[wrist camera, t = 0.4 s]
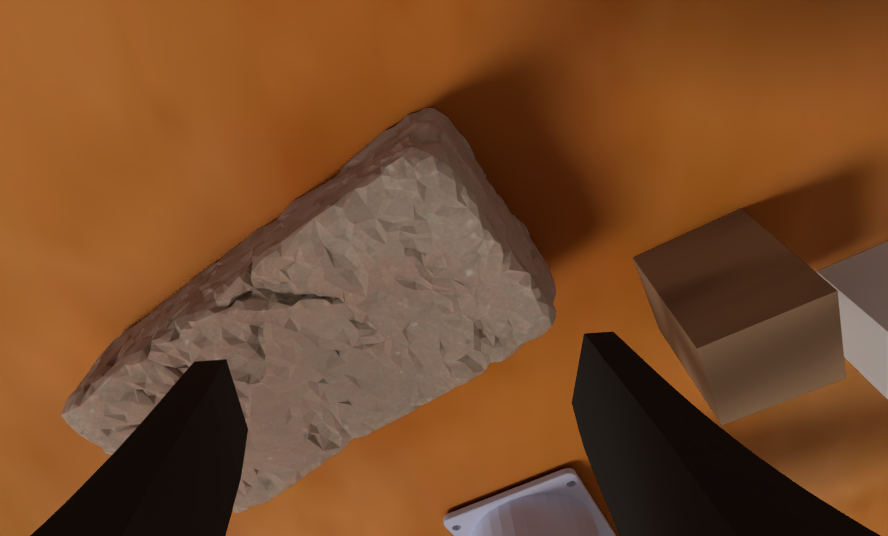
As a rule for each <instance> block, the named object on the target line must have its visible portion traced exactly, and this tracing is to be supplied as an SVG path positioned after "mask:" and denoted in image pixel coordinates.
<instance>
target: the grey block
mask: <svg viewBox="0 0 888 536" xmlns="http://www.w3.org/2000/svg"><path fill="white" fill-rule="evenodd" d="M817 274H819V275H820V276H821V277H822V278H823V279H824V280H826V281H827V282H828V283H829V284H830V285H832V286H833V287H834V288H835V289H836V290H837V291H838V300H839V310H840V321H841V331H842V341H843V351H844V357H845V358H846V359H847V360H848V361H849V362H850V363H851V364H852V365H853V366H854V367H855V368H856V369H857V370H858V371H859V372H860V373H861V374H862V375H863V376H864V377H865V378H866V379H867V380H868V381H869V382H870V383H871V384H872V385H873V386H874V387H875V388H876V389H877V390H878V391H879V392H881V393H882V394H883V395H884V396H885V397H886V398H887V399H888V241H887V242H885V243H883V244H880V245H878V246H876V247H873V248H871V249H868V250H866V251H864V252H861V253H859V254H857V255H854V256H852V257H849V258H847V259H845V260H842V261H840V262H838V263H835V264H833V265H830V266H828V267H826V268H823V269H821V270H819V271H817Z"/></svg>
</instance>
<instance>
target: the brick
mask: <svg viewBox="0 0 888 536" xmlns="http://www.w3.org/2000/svg"><path fill="white" fill-rule="evenodd" d="M529 235H530V234H529V232H528V230H527V228H526V227H525V225H524V224H523V222H521V221H520V220H518V219H517V218H516V217H515V215H513V214H511V213H510V211H509V209H508V207H507V206H506V204H505V203H504V201H503V199H502V198H501V196H499V195H497V194H496V192H495V189H494V187H493V186H492V185H490V183H489V182H488V180H487V179H486V174H484V171H483V169H482V168H481V166H480V165H479V164H478V163H477V161H476V160H475V156H474V153H473V151H472V149H471V147H470V145H469V143H468V142H467V140H466V139H465V138H464V136H463V135H462V134H461V133H460V132H459V131H457V129H456V128H455V126H454V125H453V124H452V122H451V121H450V120H449V118H448V117H447V116H446V115H444V114H442V113H441V112H439V111H438V110H436V109H435V108H424V109H422V110H421V111H419V112H417V113H411V114H408V115H407V116H406V117H405V118H404V119H403V120H402V121H401V122H399V123H398V124H397V125H396V126H394V127H393V128H390V129H388V130H385V131H384V132H382V133H381V134H380V135H378V136H377V137H376V138H375V139H374V140H373V141H372V142H370V143H369V144H368V145H367V146H366V147H364V148H363V149H362V150H361V151H360V152H358V153H357V154H356V155H355V156H354V157H353V158H352V159H351V160H349V161H348V162H347V163H346V164H345V165H344V167H343V168H342V169H341V170H340V172H339V173H338V175H337V176H335V177H334V178H332V179H330V180H329V181H327V182H326V183H324V184H323V185H321V186H319V187H317V188H315V189H313V190H311V191H310V192H308V193H306V194H304V195H303V196H301V197H299V198H298V199H296V200H294V201H293V202H292V203H291V204H290V205H289V206H288V207H287V208H286V209H285V211H284V212H283V213H282V214H281V215H280V216H279V217H278V218H277V219H276V220H275V221H273V222H271V223H270V224H268V225H266V226H264V227H262V228H259V229H257V230H255V231H254V232H253V233H252V234H251V235H250V236H249V237H248V238H246V239H245V240H244V241H243V242H242V243H240V244H239V245H237V246H236V247H235V248H233V249H232V250H230V251H229V252H227V253H226V254H225V255H224V256H223V257H222V258H221V259H220V260H219V261H218V262H217V263H213V264H212V265H210V266H209V267H208V268H207V269H205V270H204V271H203V272H201V273H200V274H199V275H197V276H196V277H194V278H193V279H191V280H190V282H189V283H188V284H187V285H185V286H183V287H182V288H180V289H179V290H178V291H177V292H176V293H175V294H174V295H172V296H171V297H170V298H168V299H167V300H165V301H164V302H163V303H161V304H160V305H159V306H158V307H157V308H156V309H155V310H153V311H152V312H151V313H150V314H149V315H148V316H146V317H145V318H144V319H142V320H141V321H140V322H139V323H137V324H136V325H134V326H133V327H131V328H129V329H127V330H125V331H124V333H123V334H122V335H121V336H120V337H118V338H116V339H115V340H114V341H113V342H112V343H111V344H110V345H109V346H108V347H107V348H106V350H105V351H104V352H103V353H102V354H101V355H100V357H99V358H98V359H97V361H96V362H95V363H94V365H93V366H92V367H91V369H90V371H89V373H88V374H87V375H86V376H85V378H84V379H83V380H82V382H81V383H80V384H79V385H78V387H77V389H76V390H75V391H74V392H73V393H72V394H71V395H70V396H69V398H68V399H67V401H66V403H65V406H64V408H63V411H62V413H61V415H62V417H63V418H64V420H65V421H66V422H67V424H68V425H69V426H70V427H71V428H72V429H74V430H75V431H76V432H77V433H78V434H79V435H81V436H82V437H84V438H86V439H87V440H89V441H90V442H92V443H94V444H96V445H98V446H100V447H102V448H103V450H104V452H105V453H107V454H110V455H112V454H113V453H114V452H115V451H116V450H117V449H118V448H119V447H120V446H121V445H122V443H123V442H124V441H125V440H126V439H127V438H128V437H129V436H130V435H131V433H132V432H133V431H134V430H135V429H136V428H137V427H138V426H139V425H140V423H141V422H142V421H143V420H144V419H145V418H146V417H147V415H148V414H149V413H150V412H151V411H152V410H153V409H154V407H155V406H156V405H157V404H158V403H159V402H160V400H161V399H162V398H163V397H164V396H165V395H166V393H167V392H168V391H169V390H170V389H171V388H172V386H173V385H174V384H175V383H176V382H177V381H178V379H179V378H180V377H181V376H182V375H183V374H184V373H185V371H186V370H187V369H188V368H189V367H190V366H191V365H192V364H193V363H194V362H195V361H209V360H223V359H226V360H227V363H228V366H229V369H230V373H231V376H232V379H233V382H234V385H235V389H236V392H237V395H238V398H239V401H240V405H241V408H242V411H243V414H244V417H245V421H246V424H247V427H248V433H247V441H246V448H245V456H244V462H243V468H242V474H241V480H240V483H239V487H238V491H237V495H236V498H235V502H234V506H233V509H232V510H233V511H234V512H236V513H240V512H243V511H245V510H247V509H249V508H250V507H252V506H253V505H260V504H264V503H266V502H267V501H269V500H271V499H272V498H274V497H275V496H277V495H278V494H280V493H281V492H283V491H284V490H286V489H287V488H289V487H291V486H292V485H294V484H295V483H297V482H298V481H299V480H301V479H302V478H303V477H305V476H306V475H307V474H308V473H310V472H311V471H312V470H314V469H315V468H317V467H319V466H320V465H321V464H322V463H323V462H324V461H325V460H326V459H328V458H330V457H332V456H335V455H336V454H338V453H339V452H340V451H341V450H343V449H344V448H345V447H346V446H347V444H348V443H349V442H350V441H351V440H352V439H353V438H358V437H363V436H367V435H368V434H370V433H371V432H373V431H375V430H377V429H379V428H381V427H383V426H385V425H387V424H389V423H391V422H393V421H395V420H397V419H399V418H401V417H403V416H404V415H406V414H408V413H410V412H412V411H414V410H415V409H417V408H418V407H419V406H421V405H424V404H426V403H429V402H430V401H432V400H434V399H436V398H438V397H439V396H441V395H443V394H445V393H447V392H448V391H450V390H451V389H453V388H455V387H456V386H459V385H463V384H465V383H467V382H468V381H470V380H472V379H473V378H475V377H477V376H478V375H480V374H481V373H483V372H484V371H485V370H486V369H487V367H488V366H489V364H490V363H491V362H502V361H503V360H505V359H506V358H508V357H509V356H511V355H512V354H513V353H515V352H516V351H517V350H518V349H519V348H520V347H521V346H522V345H523V344H524V343H525V342H527V341H529V340H532V339H535V338H538V337H541V336H542V335H543V334H544V333H545V332H546V331H547V330H548V329H549V328H550V327H551V326H552V325H553V323H554V320H555V316H556V310H555V308H554V305H553V301H554V298H555V294H556V289H555V284H554V279H553V277H552V274H551V272H550V269H549V267H548V265H547V263H546V262H545V260H544V259H543V257H542V255H541V254H540V252H539V251H538V249H537V247H536V246H535V244H534V243H533V241H532V240H531V238H530V237H529Z"/></svg>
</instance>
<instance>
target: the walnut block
mask: <svg viewBox="0 0 888 536" xmlns="http://www.w3.org/2000/svg"><path fill="white" fill-rule="evenodd" d="M633 260H634V263H635V266H636V268H637V271H638V274H639V276H640V279H641V282H642V284H643V287H644V290H645V292H646V295H647V298H648V300H649V303H650V306H651V308H652V311H653V314H654V316H655V319H656V322H657V324H658V327H659V330H660V331H661V333H662V334H663V336H664V337H665V339H666V340H667V342H668V343H669V345H670V347H671V348H672V350H673V351H674V353H675V354H676V356H677V357H678V359H679V360H680V362H681V363H682V365H683V366H684V368H685V370H686V371H687V373H688V374H689V376H690V377H691V379H692V380H693V382H694V383H695V385H696V386H697V388H698V390H699V391H700V393H701V394H702V396H703V397H704V399H705V400H706V402H707V403H708V405H709V406H710V408H711V410H712V411H713V413H714V414H715V416H716V417H717V419H718V420H719V422H720V423H721V425H725V424H727V423H730V422H732V421H735V420H738V419H740V418H743V417H745V416H748V415H751V414H753V413H756V412H759V411H761V410H764V409H766V408H769V407H772V406H774V405H777V404H779V403H782V402H785V401H787V400H790V399H793V398H795V397H798V396H800V395H803V394H806V393H808V392H811V391H813V390H816V389H819V388H821V387H824V386H827V385H829V384H832V383H834V382H837V381H840V380H842V379H845V378H846V372H845V362H844V351H843V341H842V331H841V321H840V310H839V300H838V291H837V290H836V289H835V288H834V287H833V286H832V285H830V284H829V283H828V282H827V281H826V280H824V279H823V278H822V277H821V276H820V275H819V274H817V273H816V272H815V271H814V270H813V269H812V268H810V267H809V266H808V265H807V264H806V263H805V262H803V261H802V260H801V259H800V258H799V257H798V256H796V255H795V254H794V253H793V252H792V251H791V250H789V249H788V248H787V247H786V246H785V245H784V244H782V243H781V242H780V241H779V240H778V239H777V238H775V237H774V236H773V235H772V234H771V233H770V232H768V231H767V230H766V229H765V228H764V227H763V226H761V225H760V224H759V223H758V222H757V221H756V220H754V219H753V218H752V217H751V216H750V215H749V214H747V213H746V212H745V211H744V210H743V209H742V208H741V209H739V210H736V211H734V212H732V213H730V214H728V215H725V216H723V217H721V218H719V219H717V220H714V221H712V222H710V223H708V224H706V225H703V226H701V227H699V228H697V229H695V230H692V231H690V232H688V233H686V234H684V235H681V236H679V237H677V238H675V239H673V240H670V241H668V242H666V243H664V244H662V245H659V246H657V247H655V248H653V249H651V250H648V251H646V252H644V253H642V254H639V255H637V256H635V257H633Z"/></svg>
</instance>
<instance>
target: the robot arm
mask: <svg viewBox="0 0 888 536" xmlns="http://www.w3.org/2000/svg"><path fill="white" fill-rule="evenodd" d="M572 405H573V409H574V413H575V417H576V420H577V424H578V428H579V432H580V435H581V439H582V442H583V446H584V449H585V451H586V454H587V456H588V459H589V462H590V464H591V466H592V469H593V471H594V474H595V476H596V479H597V481H598V484H599V486H600V489H601V491H602V493H603V496H604V498H605V501H606V503H607V506H608V508H609V510H610V513H611V515H612V518H613V520H614V523H615V525H616V527H617V530H618V532H619V535H620V536H880V535H878V534H877V533H875V532H873V531H871V530H870V529H868V528H866V527H865V526H863V525H861V524H860V523H858V522H856V521H855V520H853V519H851V518H850V517H848V516H847V515H845V514H843V513H842V512H840V511H838V510H837V509H835V508H834V507H832V506H830V505H829V504H827V503H825V502H824V501H822V500H821V499H819V498H818V497H816V496H814V495H813V494H811V493H810V492H808V491H807V490H805V489H804V488H802V487H801V486H799V485H798V484H796V483H795V482H793V481H792V480H790V479H789V478H788V477H786V476H785V475H783V474H782V473H780V472H779V471H778V470H776V469H775V468H773V467H772V466H770V465H769V464H768V463H766V462H765V461H763V460H762V459H760V458H759V457H758V456H756V455H755V454H754V453H752V452H751V451H750V450H748V449H747V448H746V447H744V446H743V445H742V444H740V443H739V442H738V441H737V440H735V439H734V438H733V437H732V436H730V435H729V434H728V433H727V432H725V431H724V430H723V429H722V428H720V427H719V426H718V425H717V424H715V423H714V422H713V421H712V420H710V419H709V418H708V417H707V416H706V415H704V414H703V413H702V412H701V411H700V410H698V409H697V408H696V407H695V406H694V405H693V404H691V403H690V402H689V401H688V400H687V399H686V398H685V397H683V396H682V395H681V394H680V393H679V392H678V391H677V390H675V389H674V388H673V387H672V386H671V385H670V384H669V383H668V382H667V381H665V380H664V379H663V378H662V377H661V376H660V375H659V374H658V373H657V372H656V371H655V370H653V369H652V368H651V367H650V366H649V365H648V364H647V363H646V362H645V361H644V360H643V359H642V358H641V357H640V356H639V355H637V354H636V353H635V352H634V351H633V350H632V349H631V348H630V347H629V346H628V345H627V344H626V343H625V342H624V341H623V340H621V339H620V338H619V337H618V336H617V335H616V334H615V333H614V332H602V333H588V334H584V338H583V343H582V349H581V354H580V360H579V366H578V371H577V377H576V382H575V388H574V394H573V399H572ZM247 433H248V427H247V424H246V421H245V417H244V414H243V411H242V408H241V405H240V401H239V398H238V395H237V392H236V389H235V385H234V382H233V379H232V376H231V373H230V369H229V366H228V363H227V360H226V359H223V360H209V361H195V362H194V363H193V364H192V365H191V366H190V367H189V368H188V369H187V370H186V371H185V373H184V374H183V375H182V376H181V377H180V378H179V379H178V381H177V382H176V383H175V384H174V385H173V386H172V388H171V389H170V390H169V391H168V392H167V393H166V395H165V396H164V397H163V398H162V399H161V400H160V402H159V403H158V404H157V405H156V406H155V407H154V409H153V410H152V411H151V412H150V413H149V414H148V415H147V417H146V418H145V419H144V420H143V421H142V422H141V423H140V425H139V426H138V427H137V428H136V429H135V430H134V431H133V432H132V433H131V435H130V436H129V437H128V438H127V439H126V440H125V441H124V442H123V443H122V445H121V446H120V447H119V448H118V449H117V450H116V451H115V452H114V453H113V454H112V456H111V457H110V458H109V459H108V460H107V461H106V462H105V463H104V464H103V465H102V466H101V467H100V468H99V469H98V470H97V471H96V472H95V473H94V474H93V475H92V476H91V477H90V478H89V479H88V480H87V481H86V482H85V483H84V485H83V486H82V487H81V488H80V489H79V490H78V491H77V492H76V493H75V494H74V495H73V496H72V497H71V498H70V499H69V500H68V501H67V502H66V503H65V504H64V505H63V506H62V507H61V508H60V509H59V510H57V511H56V512H55V513H54V514H53V515H52V516H51V517H50V518H49V519H48V520H47V521H46V522H45V523H44V524H43V525H42V526H41V527H39V528H38V529H37V530H36V531H35V532H34V533H33V534H32V535H31V536H225V535H226V531H227V528H228V524H229V520H230V517H231V513H232V509H233V506H234V502H235V498H236V495H237V491H238V487H239V483H240V480H241V474H242V468H243V462H244V456H245V448H246V441H247ZM443 522H444V526H445V527H446V528H447V529H448V530H449V531H450V532H451V533H452V534H453V535H454V536H616V534H615V533H614V531H613V530H612V528H611V527H610V525H609V523H608V522H607V520H606V519H605V517H604V516H603V514H602V512H601V511H600V509H599V508H598V506H597V505H596V503H595V501H594V500H593V498H592V497H591V495H590V494H589V492H588V490H587V489H586V487H585V486H584V484H583V483H582V481H581V479H580V478H579V476H578V475H577V473H576V472H575V470H574V469H571V468H565V469H562V470H559V471H556V472H554V473H551V474H549V475H546V476H544V477H541V478H538V479H536V480H533V481H531V482H528V483H526V484H523V485H520V486H518V487H515V488H513V489H510V490H508V491H505V492H502V493H500V494H497V495H495V496H492V497H489V498H487V499H484V500H482V501H479V502H477V503H474V504H471V505H469V506H466V507H464V508H461V509H459V510H456V511H453V512H451V513H448V514H446V515H445V516H444V518H443Z"/></svg>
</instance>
